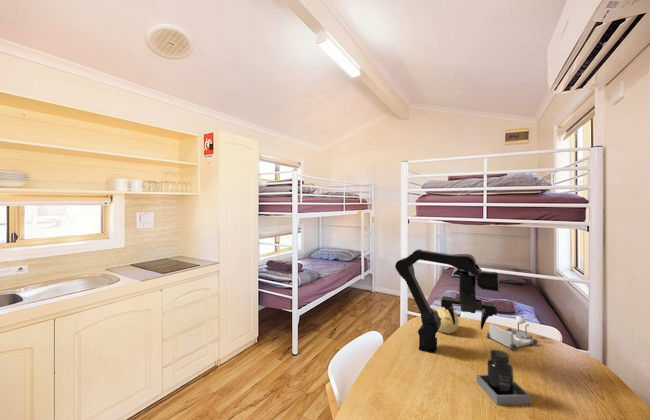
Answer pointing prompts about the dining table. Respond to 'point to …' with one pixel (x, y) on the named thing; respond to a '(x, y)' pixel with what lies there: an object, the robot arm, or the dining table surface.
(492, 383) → the supplement bottle
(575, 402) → the dining table surface
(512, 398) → the holder tray
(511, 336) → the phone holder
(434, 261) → the robot arm
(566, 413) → the dining table surface
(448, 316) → the sculpture
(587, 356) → the dining table surface
